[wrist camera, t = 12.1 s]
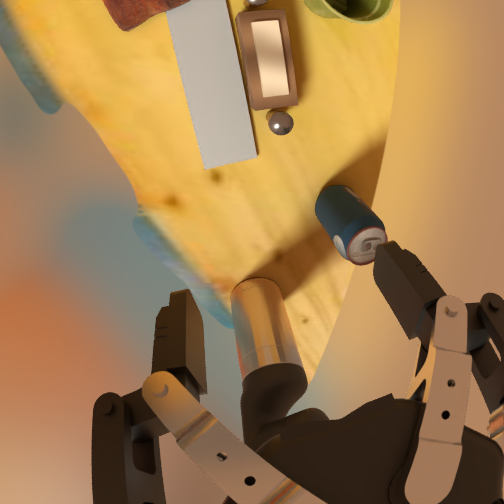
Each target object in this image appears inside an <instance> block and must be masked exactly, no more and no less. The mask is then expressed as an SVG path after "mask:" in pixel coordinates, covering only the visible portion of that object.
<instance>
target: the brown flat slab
mask: <svg viewBox="0 0 504 504" xmlns="http://www.w3.org/2000/svg"><path fill="white" fill-rule="evenodd" d="M189 1H191V0H103V2H104V4H105V6H106V8H107V9H108V11H109V14H110V15H111V17H112V18H113V20H114V22H115V23H116V24H117V25H118V27H119V28H120V29H121V30H123V31H131V30H133V29H134V28H135V27H137V26H139V25H140V24H142V23H143V22H145V21H146V20H147V19H149V18H150V17H152V16H154V15H156V14H158V13H162V12H166V11H168V10H172V9H174V8H176V7H179V6H181V5H183V4H185V3H187V2H189Z"/></svg>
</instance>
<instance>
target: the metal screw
mask: <svg viewBox="0 0 504 504" xmlns="http://www.w3.org/2000/svg"><path fill="white" fill-rule="evenodd" d="M266 119H267V121H268V125H269V128H270V129H271V131H272V132H273V133H275V134H277V135H286V134H288V133H289V132H290V131H291V130H292V128H293V124H294V123H293V119H292V117H291V116H290V115H289V114H287V113H286V112H282V111H279V112H277V111H275V110H271V111H269V112H268V113H267V115H266Z"/></svg>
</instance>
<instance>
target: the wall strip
mask: <svg viewBox="0 0 504 504" xmlns="http://www.w3.org/2000/svg"><path fill="white" fill-rule="evenodd" d="M166 15H167V19H168V24H169V28H170V33H171V37H172V41H173V46H174V50H175V54H176V58H177V62H178V67H179V71H180V75H181V79H182V83H183V87H184V91H185V95H186V99H187V103H188V107H189V111H190V115H191V119H192V123H193V127H194V130H195V134H196V138H197V142H198V146H199V149H200V153H201V157H202V161H203V165H204V168H205V170H206V169H210V168H214V167H218V166H222V165H226V164H231V163H235V162H240V161H244V160H249V159H254V158H257V153H256V148H255V143H254V137H253V132H252V127H251V121H250V116H249V111H248V106H247V101H246V96H245V90H244V85H243V80H242V75H241V71H240V66H239V61H238V56H237V51H236V46H235V42H234V37H233V32H232V28H231V23H230V18H229V14H228V9H227V5H226V0H191V1H189V2H187V3H185V4H183V5H181V6H179V7H176V8H174V9H172V10H168V11H166Z"/></svg>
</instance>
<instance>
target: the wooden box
mask: <svg viewBox="0 0 504 504" xmlns="http://www.w3.org/2000/svg"><path fill="white" fill-rule="evenodd" d="M235 22H236V27H237V32H238V38H239V44H240V49H241V55H242V61H243V67H244V72H245V78H246V84H247V90H248V96H249V102H250V106H251V107H252V108H253V109H254V110H255V111H257V110H264V109H271V108H278V107H286V106H295V105H298V97H297V89H296V81H295V73H294V65H293V58H292V51H291V44H290V38H289V31H288V25H287V19H286V13H285V9H274V10H259V11H249V12H240V13H238V15H237V16H236V18H235Z"/></svg>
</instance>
